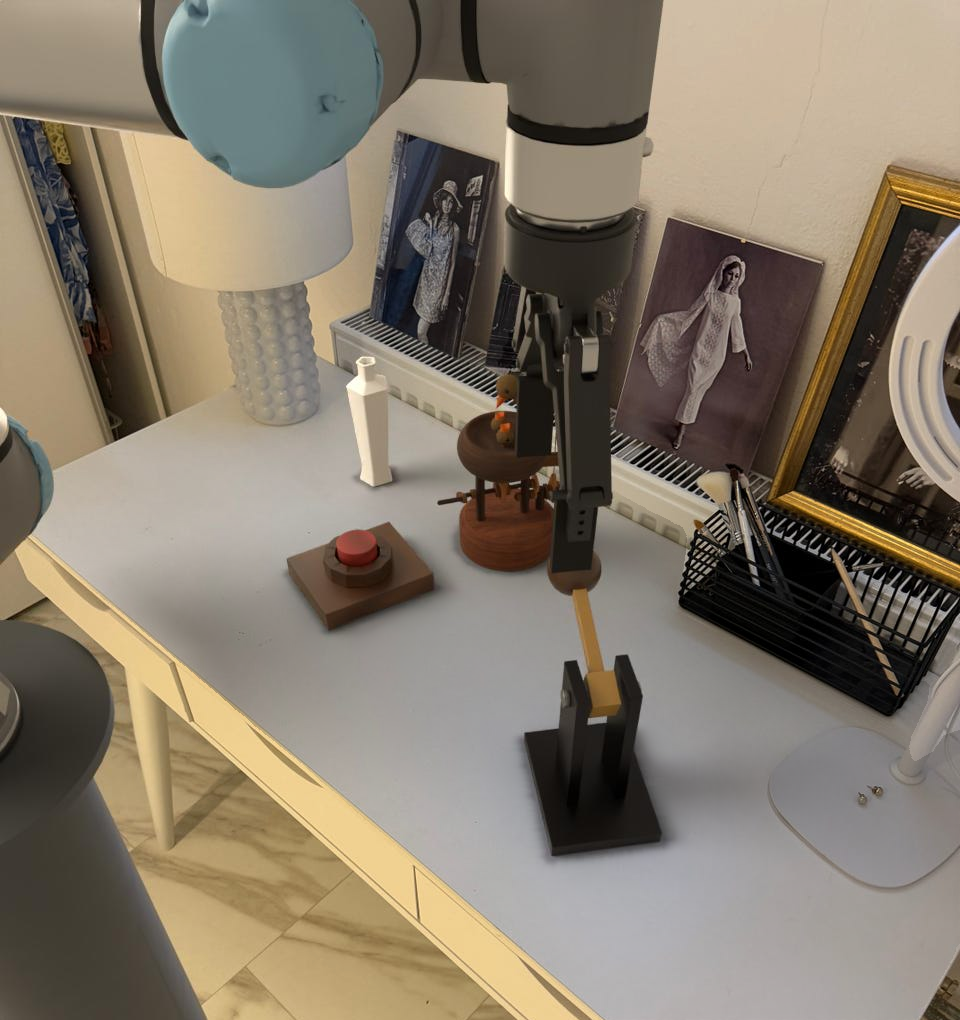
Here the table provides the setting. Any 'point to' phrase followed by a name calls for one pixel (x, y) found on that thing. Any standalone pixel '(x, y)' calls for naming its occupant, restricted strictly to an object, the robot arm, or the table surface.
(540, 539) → the music box
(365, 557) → the button
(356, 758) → the table surface
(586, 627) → the lever
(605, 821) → the lever bracket
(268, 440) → the table surface
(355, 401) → the perfume bottle
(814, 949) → the table surface
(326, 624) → the button housing
